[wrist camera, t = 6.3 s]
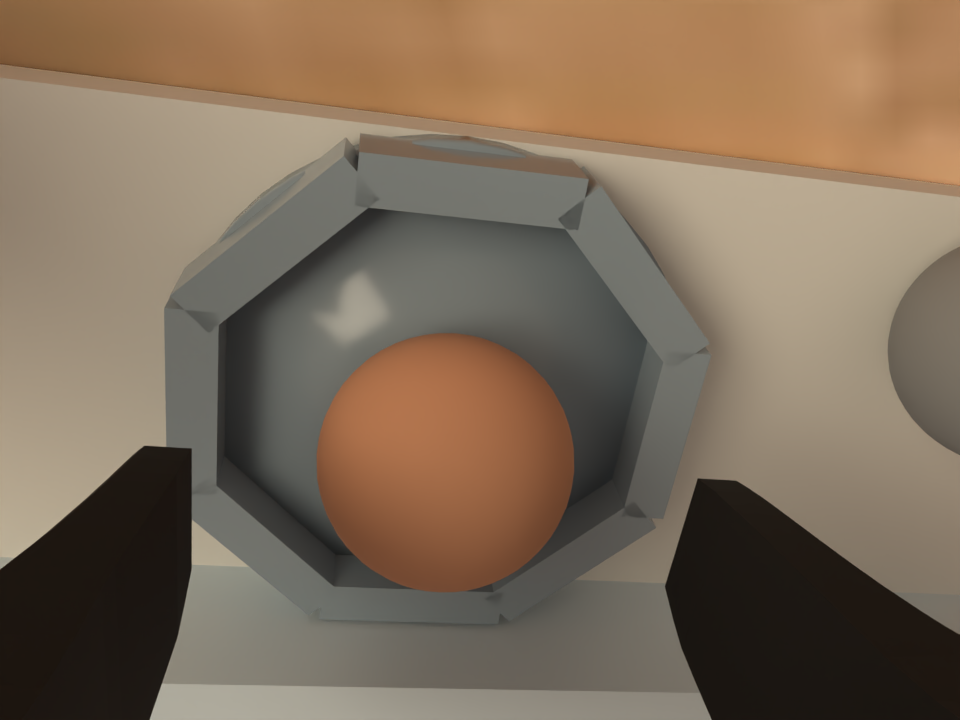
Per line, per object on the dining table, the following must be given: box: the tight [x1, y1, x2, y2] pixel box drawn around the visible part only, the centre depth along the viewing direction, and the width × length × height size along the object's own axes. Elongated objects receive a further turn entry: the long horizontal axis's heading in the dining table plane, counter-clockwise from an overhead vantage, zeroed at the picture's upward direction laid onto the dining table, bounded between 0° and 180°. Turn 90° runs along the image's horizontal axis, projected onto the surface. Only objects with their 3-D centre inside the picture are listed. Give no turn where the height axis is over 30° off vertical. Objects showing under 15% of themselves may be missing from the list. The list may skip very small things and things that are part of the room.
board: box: [0, 64, 960, 595], centre depth 18 cm, size 18×23×1 cm
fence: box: [0, 557, 960, 720], centre depth 17 cm, size 1×23×3 cm, turn 81°
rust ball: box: [317, 333, 574, 592], centre depth 14 cm, size 4×4×4 cm
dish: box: [164, 133, 711, 625], centre depth 15 cm, size 9×9×2 cm
